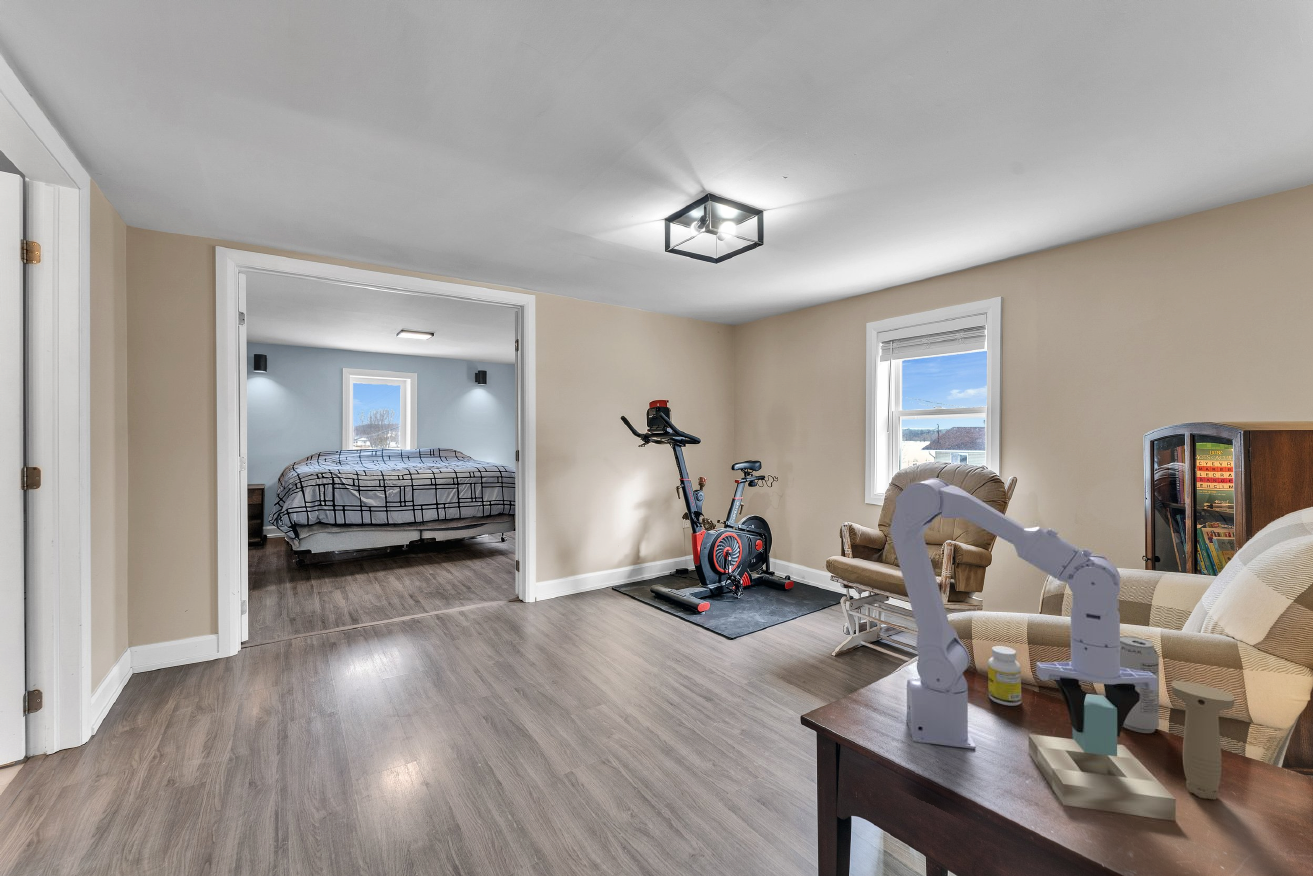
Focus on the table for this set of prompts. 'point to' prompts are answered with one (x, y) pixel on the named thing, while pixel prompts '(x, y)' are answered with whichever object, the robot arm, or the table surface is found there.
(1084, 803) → the socket block
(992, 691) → the supplement bottle
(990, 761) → the table surface
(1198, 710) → the handle
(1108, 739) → the peg
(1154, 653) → the energy drink can
